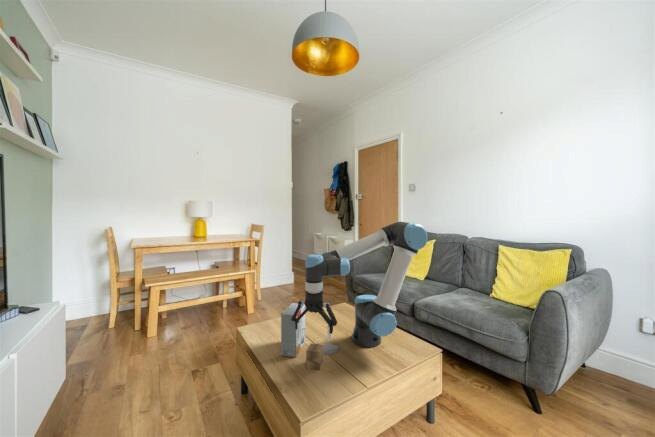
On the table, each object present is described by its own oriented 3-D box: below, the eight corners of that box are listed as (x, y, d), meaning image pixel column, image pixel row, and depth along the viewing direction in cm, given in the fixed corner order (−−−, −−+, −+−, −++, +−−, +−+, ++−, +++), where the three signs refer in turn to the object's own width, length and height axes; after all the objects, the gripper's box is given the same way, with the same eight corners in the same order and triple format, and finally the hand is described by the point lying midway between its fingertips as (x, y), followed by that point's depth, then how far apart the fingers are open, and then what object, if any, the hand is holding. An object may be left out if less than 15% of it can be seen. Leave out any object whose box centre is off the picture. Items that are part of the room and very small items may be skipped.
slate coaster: (339, 346, 134) (339, 344, 134) (336, 356, 125) (336, 354, 125) (322, 344, 136) (322, 342, 136) (317, 353, 128) (317, 352, 127)
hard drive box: (296, 358, 124) (295, 315, 122) (280, 356, 125) (280, 314, 124) (305, 340, 139) (305, 303, 138) (291, 339, 140) (291, 302, 139)
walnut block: (323, 362, 120) (323, 345, 120) (319, 370, 114) (319, 352, 114) (310, 360, 122) (310, 343, 121) (306, 368, 116) (306, 350, 115)
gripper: (344, 290, 117) (343, 337, 118) (290, 285, 123) (290, 331, 124) (340, 296, 109) (340, 346, 111) (283, 291, 115) (283, 339, 116)
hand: (313, 338), depth 117 cm, fingers open, 13 cm apart
